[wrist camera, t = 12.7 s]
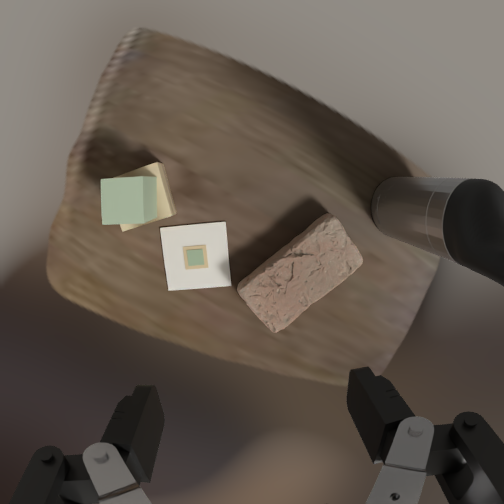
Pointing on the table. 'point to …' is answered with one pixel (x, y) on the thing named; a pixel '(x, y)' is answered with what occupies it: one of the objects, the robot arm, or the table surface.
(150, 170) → the base block
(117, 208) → the green block
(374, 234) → the table surface
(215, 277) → the page
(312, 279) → the brick
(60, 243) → the table surface
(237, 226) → the table surface
